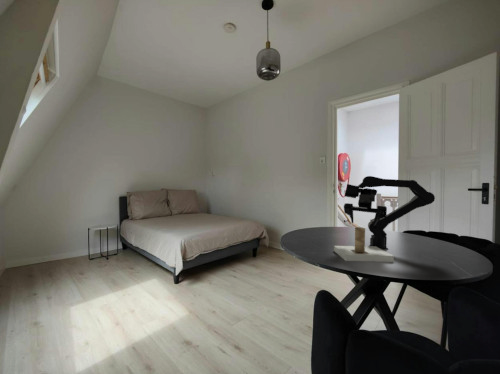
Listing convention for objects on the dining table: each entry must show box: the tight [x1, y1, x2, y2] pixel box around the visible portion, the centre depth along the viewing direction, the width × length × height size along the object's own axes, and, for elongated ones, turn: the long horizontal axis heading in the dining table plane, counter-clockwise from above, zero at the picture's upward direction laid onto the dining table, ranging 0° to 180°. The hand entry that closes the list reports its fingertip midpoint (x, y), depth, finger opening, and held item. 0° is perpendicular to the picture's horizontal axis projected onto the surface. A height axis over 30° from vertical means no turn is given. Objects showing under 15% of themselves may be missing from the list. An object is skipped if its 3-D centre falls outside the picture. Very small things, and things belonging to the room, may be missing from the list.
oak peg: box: [354, 226, 366, 254], centre depth 102 cm, size 4×4×13 cm
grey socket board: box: [333, 245, 395, 263], centre depth 104 cm, size 20×14×2 cm
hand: (363, 224), depth 109 cm, fingers open, 9 cm apart
